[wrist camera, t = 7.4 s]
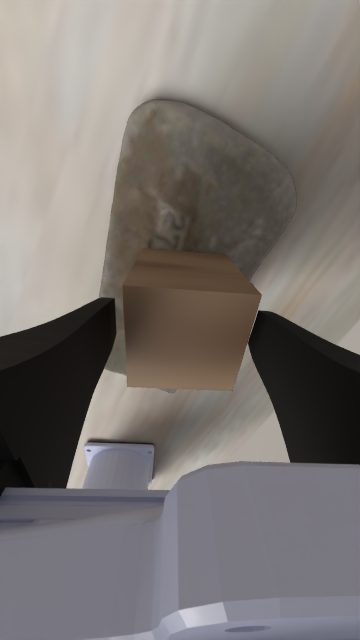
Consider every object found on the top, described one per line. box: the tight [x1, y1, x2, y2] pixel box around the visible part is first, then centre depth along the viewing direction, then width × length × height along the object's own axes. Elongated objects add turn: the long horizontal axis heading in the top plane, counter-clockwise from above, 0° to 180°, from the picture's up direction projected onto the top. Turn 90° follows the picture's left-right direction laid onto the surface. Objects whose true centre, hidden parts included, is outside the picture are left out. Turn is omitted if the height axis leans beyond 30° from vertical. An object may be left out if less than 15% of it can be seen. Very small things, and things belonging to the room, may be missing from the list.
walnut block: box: [122, 248, 262, 391], centre depth 11 cm, size 5×5×6 cm
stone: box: [99, 100, 297, 393], centre depth 15 cm, size 18×3×10 cm
